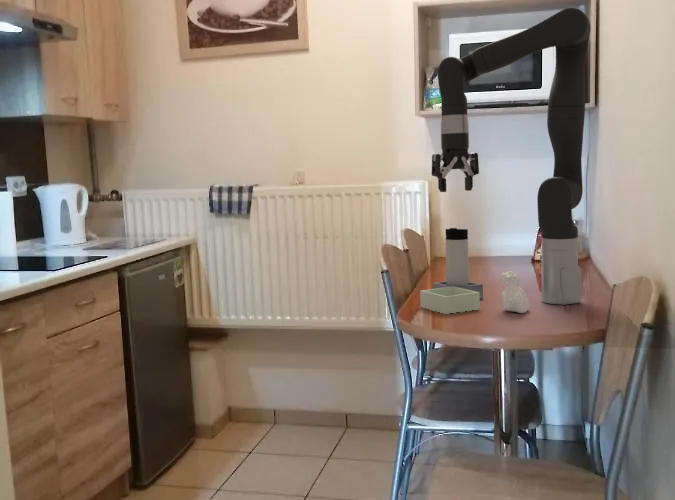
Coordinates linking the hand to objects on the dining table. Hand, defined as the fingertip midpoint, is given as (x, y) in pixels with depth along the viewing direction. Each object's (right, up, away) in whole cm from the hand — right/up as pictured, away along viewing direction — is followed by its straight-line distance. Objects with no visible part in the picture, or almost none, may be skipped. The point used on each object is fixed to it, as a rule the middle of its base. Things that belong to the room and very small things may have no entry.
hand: (455, 191), depth 196 cm
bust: (+12, -32, -17) cm, 38 cm away
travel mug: (+1, -30, +3) cm, 30 cm away
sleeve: (+1, -30, +3) cm, 30 cm away
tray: (-3, -32, -11) cm, 34 cm away
